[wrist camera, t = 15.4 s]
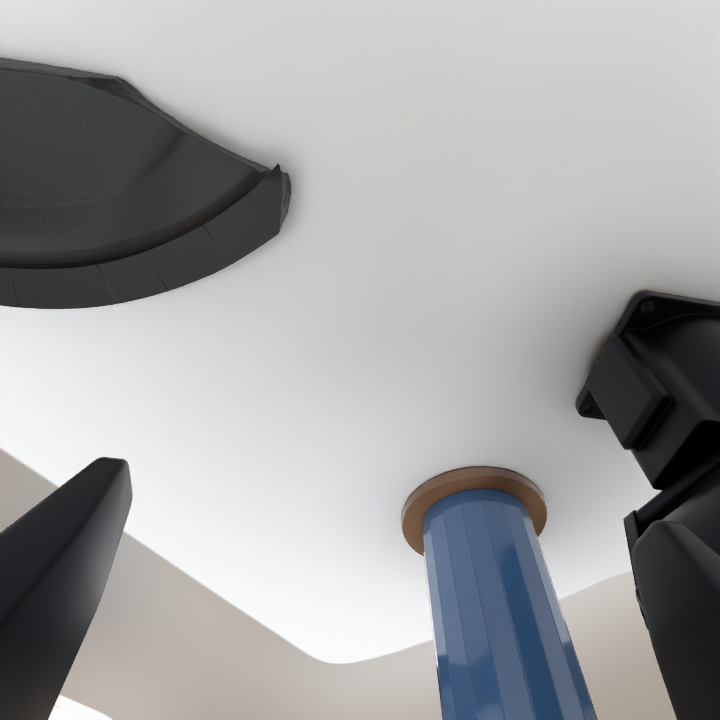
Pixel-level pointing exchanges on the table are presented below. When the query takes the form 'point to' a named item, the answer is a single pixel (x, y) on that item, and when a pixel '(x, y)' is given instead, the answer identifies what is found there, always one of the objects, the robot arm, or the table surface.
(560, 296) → the table surface
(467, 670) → the pen cup
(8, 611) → the robot arm
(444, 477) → the coaster
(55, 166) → the dark sector wedge
